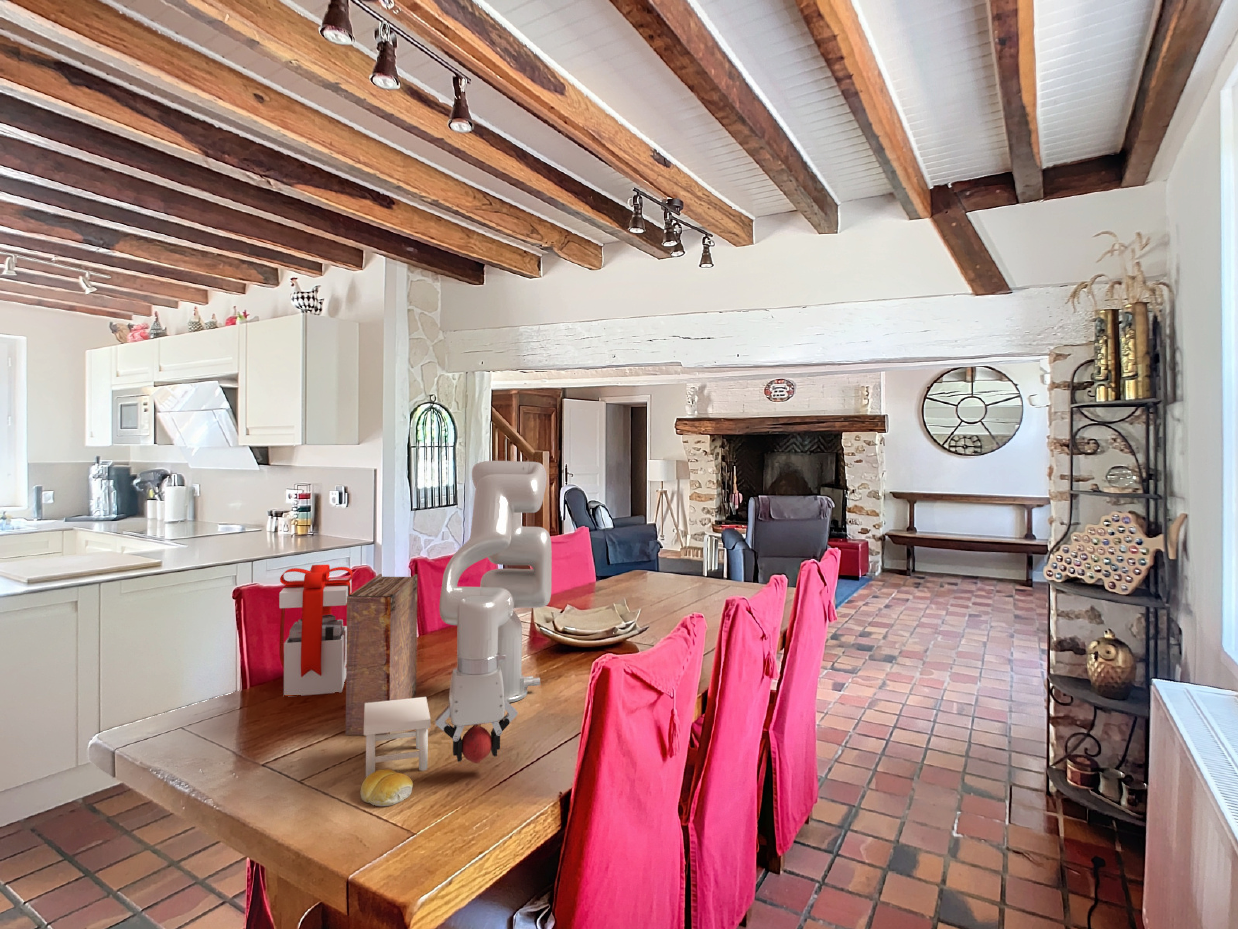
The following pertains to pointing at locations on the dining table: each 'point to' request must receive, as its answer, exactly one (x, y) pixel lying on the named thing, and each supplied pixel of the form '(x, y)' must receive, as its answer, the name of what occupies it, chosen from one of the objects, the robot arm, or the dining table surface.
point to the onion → (476, 744)
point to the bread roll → (386, 788)
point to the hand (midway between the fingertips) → (476, 755)
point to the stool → (396, 728)
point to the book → (380, 645)
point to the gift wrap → (314, 632)
